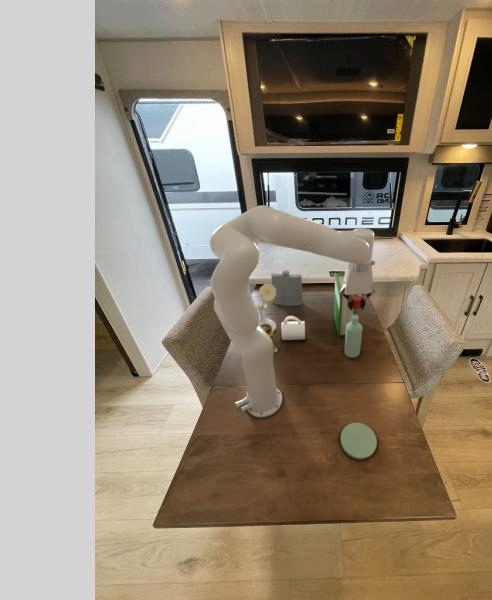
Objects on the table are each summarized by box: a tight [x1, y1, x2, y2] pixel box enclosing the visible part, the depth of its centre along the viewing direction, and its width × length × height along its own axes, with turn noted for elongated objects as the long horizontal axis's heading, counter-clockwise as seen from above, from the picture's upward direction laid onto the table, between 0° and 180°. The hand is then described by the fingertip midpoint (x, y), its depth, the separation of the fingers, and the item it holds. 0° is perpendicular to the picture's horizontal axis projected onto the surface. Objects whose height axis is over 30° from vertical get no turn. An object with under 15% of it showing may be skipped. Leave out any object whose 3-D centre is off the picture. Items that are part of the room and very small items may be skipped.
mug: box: [280, 315, 306, 341], centre depth 119 cm, size 8×10×12 cm
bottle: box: [344, 314, 363, 359], centre depth 109 cm, size 7×7×19 cm
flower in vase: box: [255, 282, 277, 333], centre depth 120 cm, size 13×11×25 cm
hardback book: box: [333, 273, 359, 338], centre depth 124 cm, size 18×7×24 cm, turn 4°
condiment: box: [260, 324, 279, 354], centre depth 112 cm, size 7×8×12 cm
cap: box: [352, 295, 362, 310], centre depth 101 cm, size 4×4×4 cm
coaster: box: [340, 422, 378, 460], centre depth 81 cm, size 11×11×1 cm
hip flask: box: [270, 269, 304, 307], centre depth 141 cm, size 16×4×20 cm, turn 86°
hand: (355, 307), depth 102 cm, fingers closed on cap, 3 cm apart
